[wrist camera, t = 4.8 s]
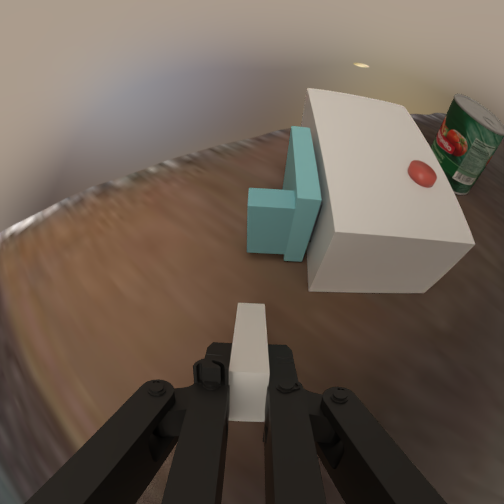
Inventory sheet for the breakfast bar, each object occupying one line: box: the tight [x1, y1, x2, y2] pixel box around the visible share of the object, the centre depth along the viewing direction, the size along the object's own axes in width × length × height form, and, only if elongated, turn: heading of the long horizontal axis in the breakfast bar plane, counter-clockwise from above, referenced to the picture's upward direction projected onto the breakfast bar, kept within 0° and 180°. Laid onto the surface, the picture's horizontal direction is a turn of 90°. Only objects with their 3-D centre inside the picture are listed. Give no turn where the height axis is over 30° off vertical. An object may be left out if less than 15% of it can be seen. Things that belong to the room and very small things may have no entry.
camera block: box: [301, 88, 475, 293], centre depth 24 cm, size 11×20×9 cm, turn 177°
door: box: [247, 126, 322, 262], centre depth 23 cm, size 4×8×8 cm, turn 177°
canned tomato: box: [431, 94, 504, 195], centre depth 27 cm, size 8×8×11 cm
